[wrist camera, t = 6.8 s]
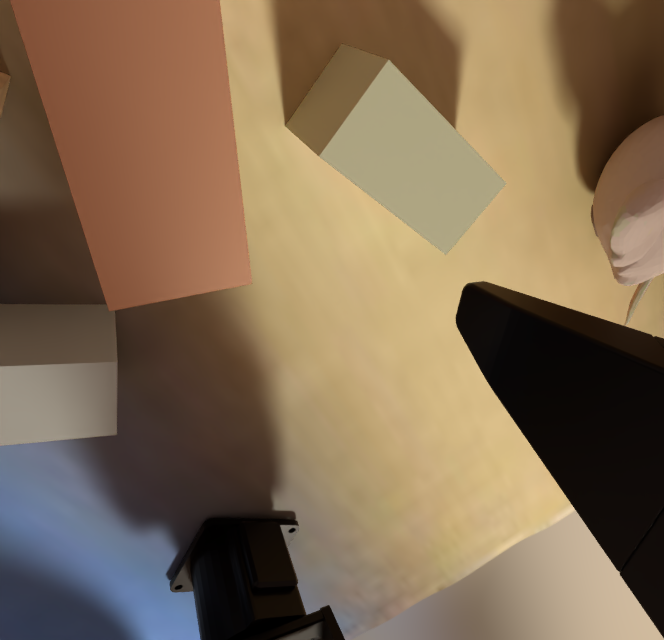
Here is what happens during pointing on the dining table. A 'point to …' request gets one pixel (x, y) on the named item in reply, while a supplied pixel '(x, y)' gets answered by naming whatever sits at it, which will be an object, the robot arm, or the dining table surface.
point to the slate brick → (57, 372)
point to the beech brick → (3, 89)
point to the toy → (633, 209)
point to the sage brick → (395, 146)
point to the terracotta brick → (144, 140)
